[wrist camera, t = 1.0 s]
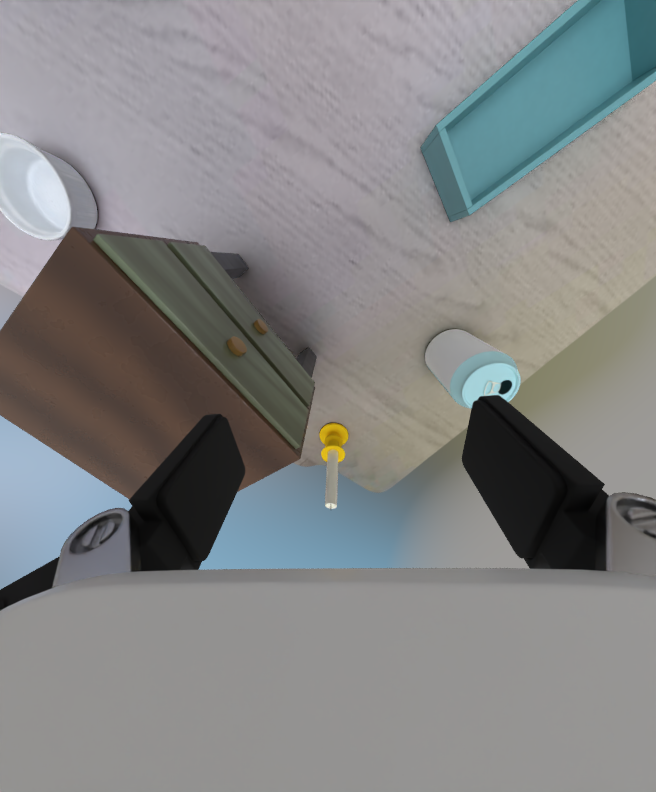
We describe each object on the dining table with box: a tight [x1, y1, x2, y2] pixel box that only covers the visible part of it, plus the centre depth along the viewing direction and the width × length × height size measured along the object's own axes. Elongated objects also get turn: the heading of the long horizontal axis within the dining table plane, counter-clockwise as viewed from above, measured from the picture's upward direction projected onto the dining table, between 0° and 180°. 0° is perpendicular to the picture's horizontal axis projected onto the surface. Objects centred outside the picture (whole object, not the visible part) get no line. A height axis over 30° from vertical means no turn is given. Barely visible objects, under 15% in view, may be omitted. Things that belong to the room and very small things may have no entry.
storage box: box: [421, 0, 656, 222], centre depth 22 cm, size 18×8×5 cm, turn 125°
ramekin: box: [0, 133, 97, 241], centre depth 28 cm, size 9×9×4 cm
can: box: [425, 329, 521, 409], centre depth 31 cm, size 7×7×12 cm
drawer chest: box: [0, 227, 317, 499], centre depth 27 cm, size 17×18×22 cm
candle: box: [320, 423, 348, 509], centre depth 38 cm, size 5×5×16 cm
